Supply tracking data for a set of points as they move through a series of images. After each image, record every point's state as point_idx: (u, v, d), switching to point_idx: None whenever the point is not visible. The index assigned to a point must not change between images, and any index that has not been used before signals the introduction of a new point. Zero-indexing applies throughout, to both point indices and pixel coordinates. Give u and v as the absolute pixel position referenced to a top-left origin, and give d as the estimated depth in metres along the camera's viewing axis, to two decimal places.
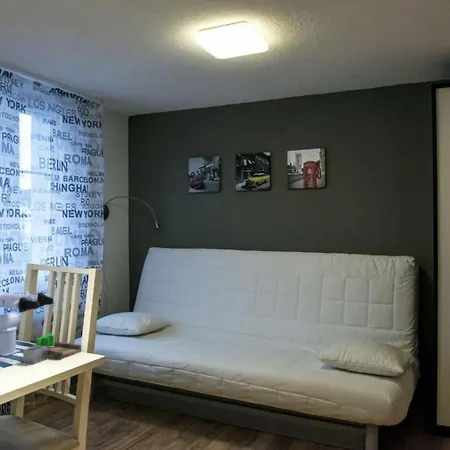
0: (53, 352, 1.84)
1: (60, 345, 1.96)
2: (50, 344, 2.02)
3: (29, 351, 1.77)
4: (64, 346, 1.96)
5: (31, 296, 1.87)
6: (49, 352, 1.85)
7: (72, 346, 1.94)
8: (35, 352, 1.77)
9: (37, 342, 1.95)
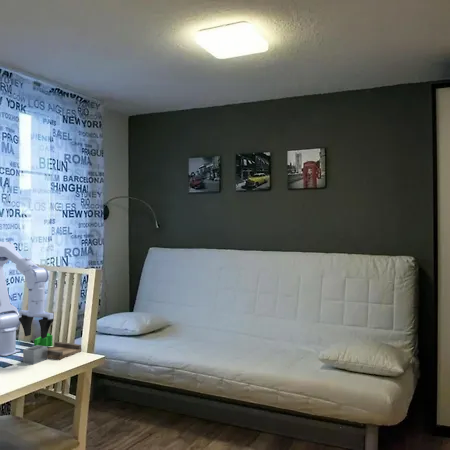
0: (53, 352, 1.84)
1: (60, 345, 1.96)
2: (49, 344, 2.02)
3: (29, 351, 1.77)
4: (64, 346, 1.96)
5: None
6: (49, 352, 1.85)
7: (72, 346, 1.94)
8: (35, 352, 1.77)
9: (35, 342, 1.95)
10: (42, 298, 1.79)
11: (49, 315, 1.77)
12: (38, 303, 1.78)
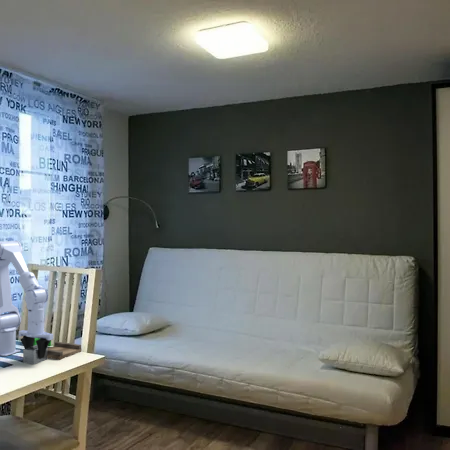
0: (53, 352, 1.84)
1: (60, 345, 1.96)
2: None
3: (29, 351, 1.77)
4: (64, 346, 1.96)
5: None
6: (49, 352, 1.85)
7: (72, 346, 1.94)
8: (35, 352, 1.77)
9: (34, 342, 1.95)
10: (42, 319, 1.79)
11: (49, 336, 1.77)
12: (38, 324, 1.78)
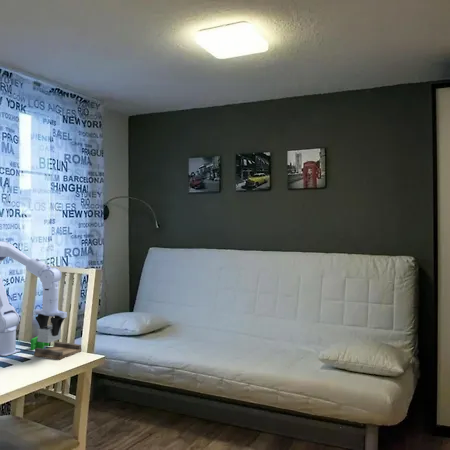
0: (53, 352, 1.84)
1: (60, 345, 1.96)
2: (45, 344, 2.02)
3: (43, 330, 1.83)
4: (64, 346, 1.96)
5: None
6: (49, 352, 1.85)
7: (72, 346, 1.94)
8: (49, 331, 1.83)
9: (32, 342, 1.95)
10: (57, 297, 1.86)
11: (63, 314, 1.83)
12: (52, 302, 1.84)
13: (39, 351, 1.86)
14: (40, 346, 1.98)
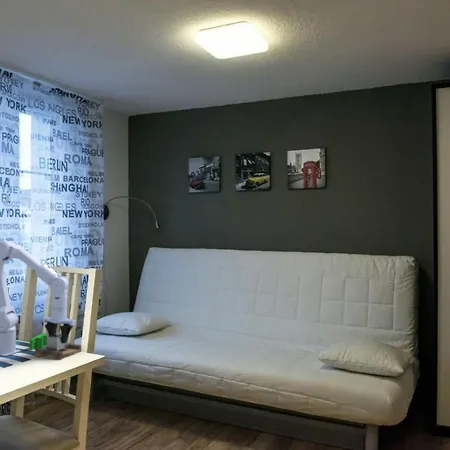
0: (53, 352, 1.84)
1: None
2: (44, 344, 2.02)
3: (52, 338, 1.87)
4: None
5: None
6: (49, 352, 1.85)
7: (72, 346, 1.94)
8: (58, 339, 1.87)
9: (31, 342, 1.95)
10: (66, 305, 1.91)
11: (71, 322, 1.87)
12: (61, 310, 1.88)
13: (39, 351, 1.86)
14: (39, 346, 1.98)
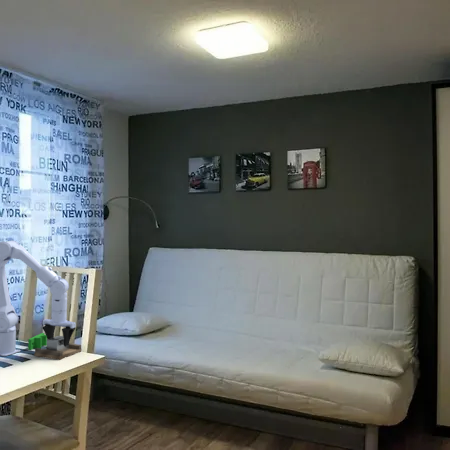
0: (53, 352, 1.84)
1: None
2: (43, 344, 2.02)
3: (52, 341, 1.87)
4: None
5: None
6: (49, 352, 1.85)
7: (72, 346, 1.94)
8: (58, 342, 1.87)
9: (30, 342, 1.95)
10: (66, 307, 1.91)
11: (71, 324, 1.87)
12: (61, 313, 1.88)
13: (39, 351, 1.86)
14: (38, 346, 1.98)
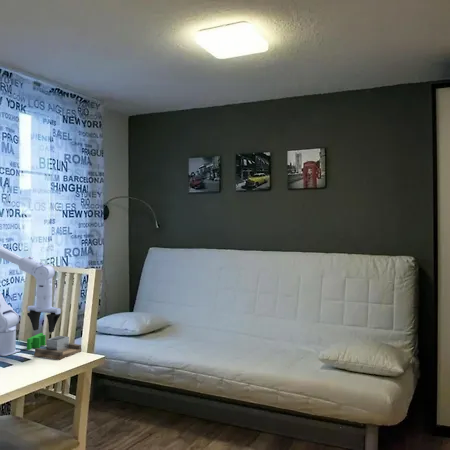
0: (53, 352, 1.84)
1: None
2: (41, 344, 2.02)
3: (52, 341, 1.87)
4: None
5: None
6: (49, 352, 1.85)
7: (72, 346, 1.94)
8: (58, 342, 1.87)
9: (28, 342, 1.95)
10: (51, 293, 1.89)
11: (56, 310, 1.85)
12: (46, 299, 1.86)
13: (39, 351, 1.86)
14: (36, 346, 1.98)
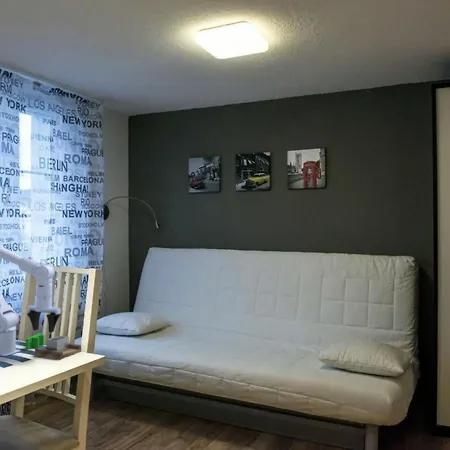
0: (53, 352, 1.84)
1: None
2: (40, 343, 2.02)
3: (52, 341, 1.87)
4: None
5: None
6: (49, 352, 1.85)
7: (72, 346, 1.94)
8: (58, 342, 1.87)
9: (27, 341, 1.96)
10: (51, 293, 1.89)
11: (56, 310, 1.85)
12: (46, 299, 1.86)
13: (39, 351, 1.86)
14: (35, 346, 1.98)
